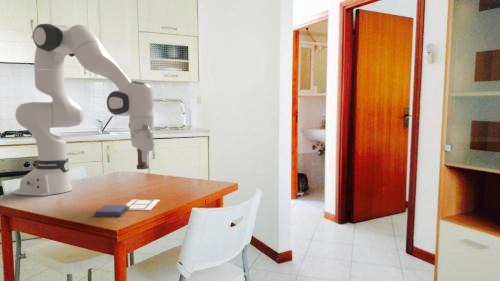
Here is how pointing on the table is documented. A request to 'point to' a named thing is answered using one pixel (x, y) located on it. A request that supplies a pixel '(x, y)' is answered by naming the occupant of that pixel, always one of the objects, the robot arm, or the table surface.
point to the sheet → (141, 204)
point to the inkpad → (111, 211)
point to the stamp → (140, 163)
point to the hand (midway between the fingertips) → (142, 160)
